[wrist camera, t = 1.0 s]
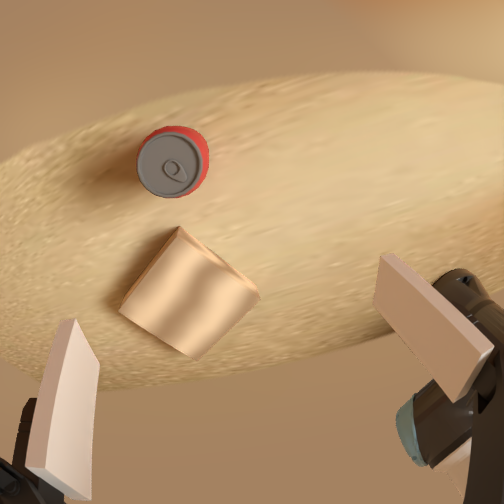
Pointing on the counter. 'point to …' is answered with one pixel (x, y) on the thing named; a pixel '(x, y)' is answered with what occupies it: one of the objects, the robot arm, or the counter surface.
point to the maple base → (189, 296)
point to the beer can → (173, 161)
